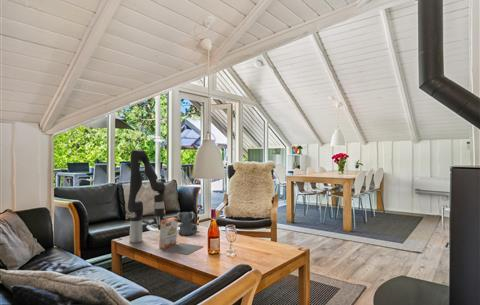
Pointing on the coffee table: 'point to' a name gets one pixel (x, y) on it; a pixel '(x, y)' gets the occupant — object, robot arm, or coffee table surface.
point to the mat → (183, 248)
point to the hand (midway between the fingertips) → (160, 229)
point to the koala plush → (186, 223)
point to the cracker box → (168, 232)
